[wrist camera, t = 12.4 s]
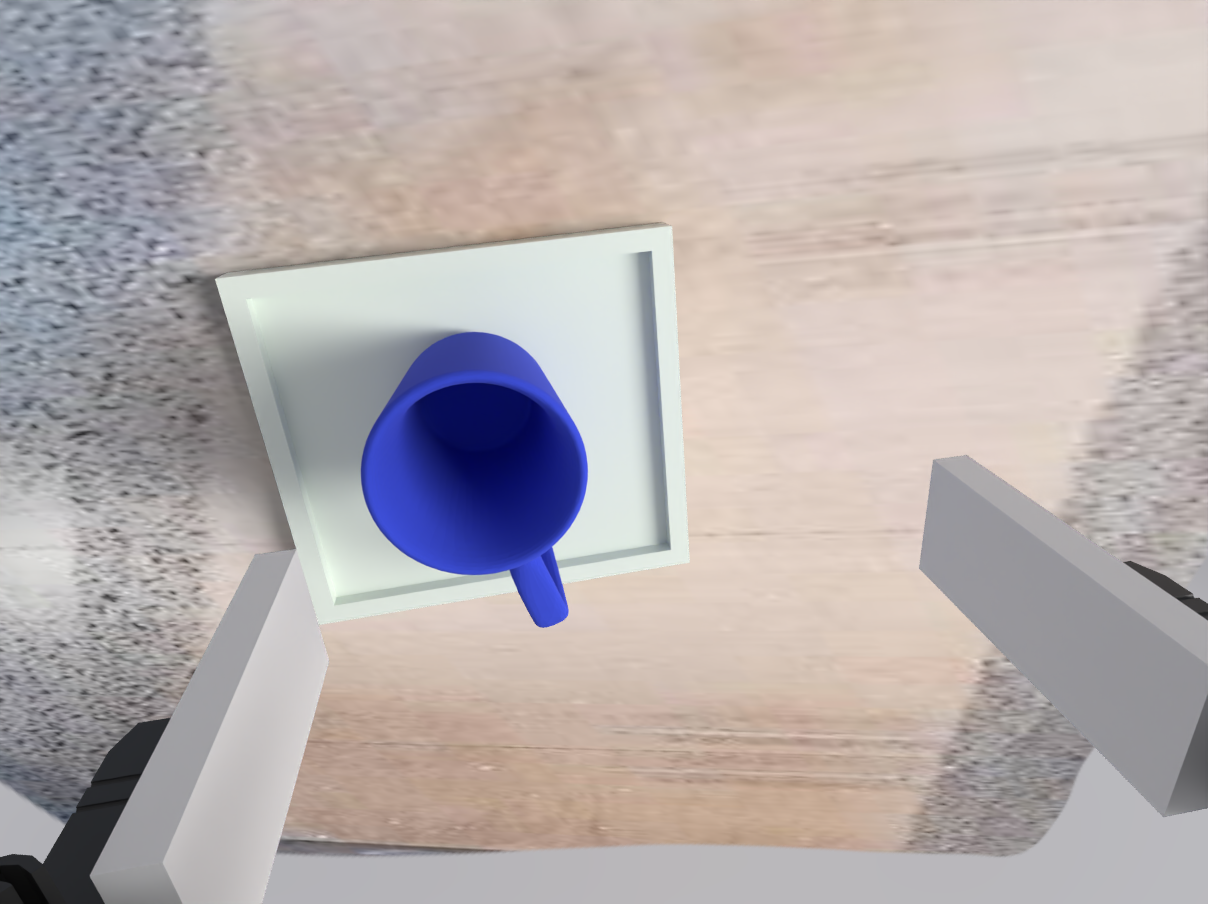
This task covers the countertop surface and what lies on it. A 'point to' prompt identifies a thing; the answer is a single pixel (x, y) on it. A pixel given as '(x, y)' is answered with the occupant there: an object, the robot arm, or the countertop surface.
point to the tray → (433, 312)
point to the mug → (478, 467)
